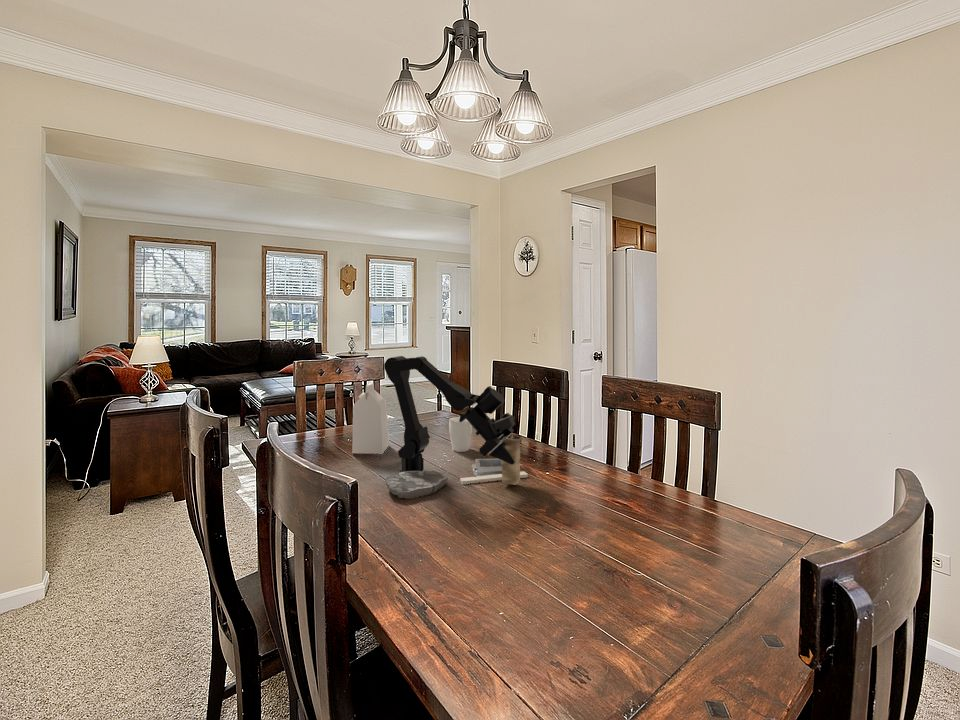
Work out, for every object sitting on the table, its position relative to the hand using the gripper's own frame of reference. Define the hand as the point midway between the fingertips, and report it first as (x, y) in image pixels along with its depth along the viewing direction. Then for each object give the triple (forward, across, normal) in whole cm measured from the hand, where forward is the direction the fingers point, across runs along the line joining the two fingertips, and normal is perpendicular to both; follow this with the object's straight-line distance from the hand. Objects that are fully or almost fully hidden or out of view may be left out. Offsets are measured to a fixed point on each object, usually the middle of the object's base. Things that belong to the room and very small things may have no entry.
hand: (515, 461), depth 151 cm
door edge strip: (0, +4, +11) cm, 12 cm away
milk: (-39, +19, +51) cm, 66 cm away
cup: (-16, +31, +28) cm, 44 cm away
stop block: (+4, 0, +6) cm, 7 cm away
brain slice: (-14, -12, +26) cm, 32 cm away
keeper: (-3, +11, +14) cm, 18 cm away
